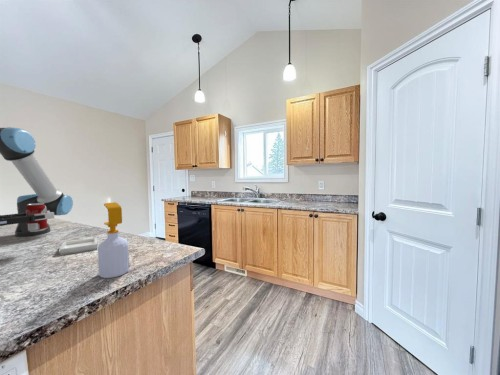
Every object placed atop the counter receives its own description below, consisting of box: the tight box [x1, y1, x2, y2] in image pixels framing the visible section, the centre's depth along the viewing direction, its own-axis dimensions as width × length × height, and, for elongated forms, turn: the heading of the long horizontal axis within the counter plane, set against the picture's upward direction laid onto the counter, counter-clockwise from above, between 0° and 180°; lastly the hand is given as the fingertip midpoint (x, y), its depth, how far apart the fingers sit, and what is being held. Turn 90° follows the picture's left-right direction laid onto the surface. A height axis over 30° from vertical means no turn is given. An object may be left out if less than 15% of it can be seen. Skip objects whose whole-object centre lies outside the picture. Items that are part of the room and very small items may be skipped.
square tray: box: [58, 236, 99, 256], centre depth 106 cm, size 13×13×2 cm
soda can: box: [26, 203, 49, 232], centre depth 101 cm, size 7×7×12 cm
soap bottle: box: [97, 201, 130, 279], centre depth 78 cm, size 9×9×25 cm
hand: (51, 214), depth 105 cm, fingers closed on soda can, 6 cm apart
